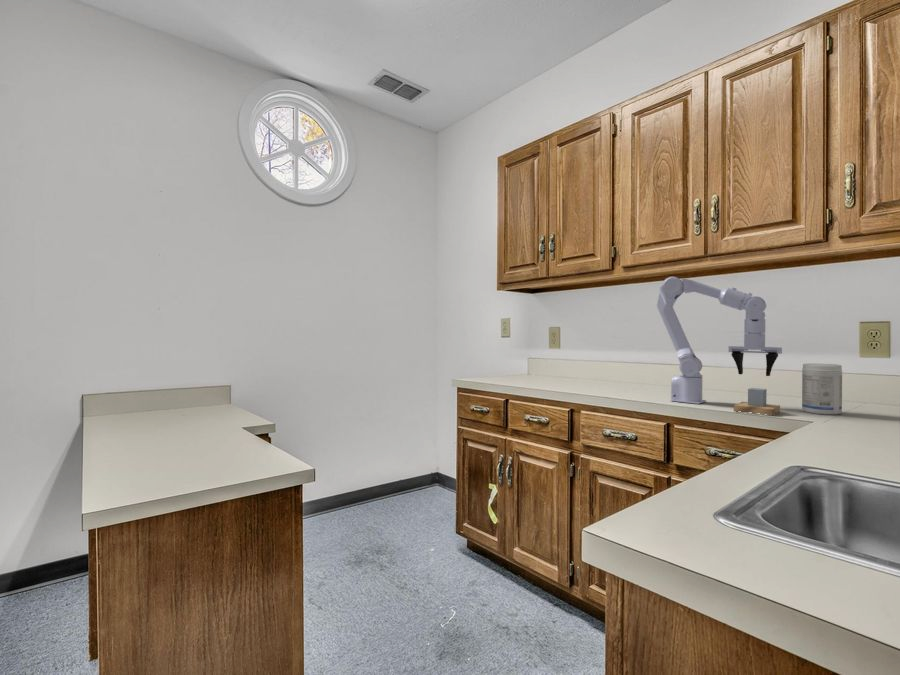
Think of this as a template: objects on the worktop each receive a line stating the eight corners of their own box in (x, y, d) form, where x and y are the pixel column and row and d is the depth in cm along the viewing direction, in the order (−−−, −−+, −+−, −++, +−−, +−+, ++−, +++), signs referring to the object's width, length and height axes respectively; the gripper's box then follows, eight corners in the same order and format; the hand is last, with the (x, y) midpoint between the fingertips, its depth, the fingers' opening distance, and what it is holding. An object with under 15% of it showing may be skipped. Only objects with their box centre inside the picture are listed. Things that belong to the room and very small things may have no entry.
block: (747, 405, 142) (747, 388, 142) (751, 403, 145) (751, 387, 144) (763, 406, 139) (763, 390, 139) (766, 405, 142) (766, 389, 142)
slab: (733, 411, 142) (733, 405, 142) (742, 407, 149) (742, 401, 149) (772, 416, 135) (772, 409, 135) (780, 411, 142) (780, 405, 142)
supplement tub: (817, 409, 146) (818, 363, 146) (850, 414, 137) (851, 365, 137) (793, 410, 144) (794, 363, 144) (825, 416, 135) (826, 365, 135)
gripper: (784, 333, 148) (783, 375, 148) (732, 333, 158) (732, 372, 159) (779, 333, 143) (778, 377, 143) (726, 333, 153) (726, 374, 154)
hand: (754, 375), depth 151 cm, fingers open, 7 cm apart
